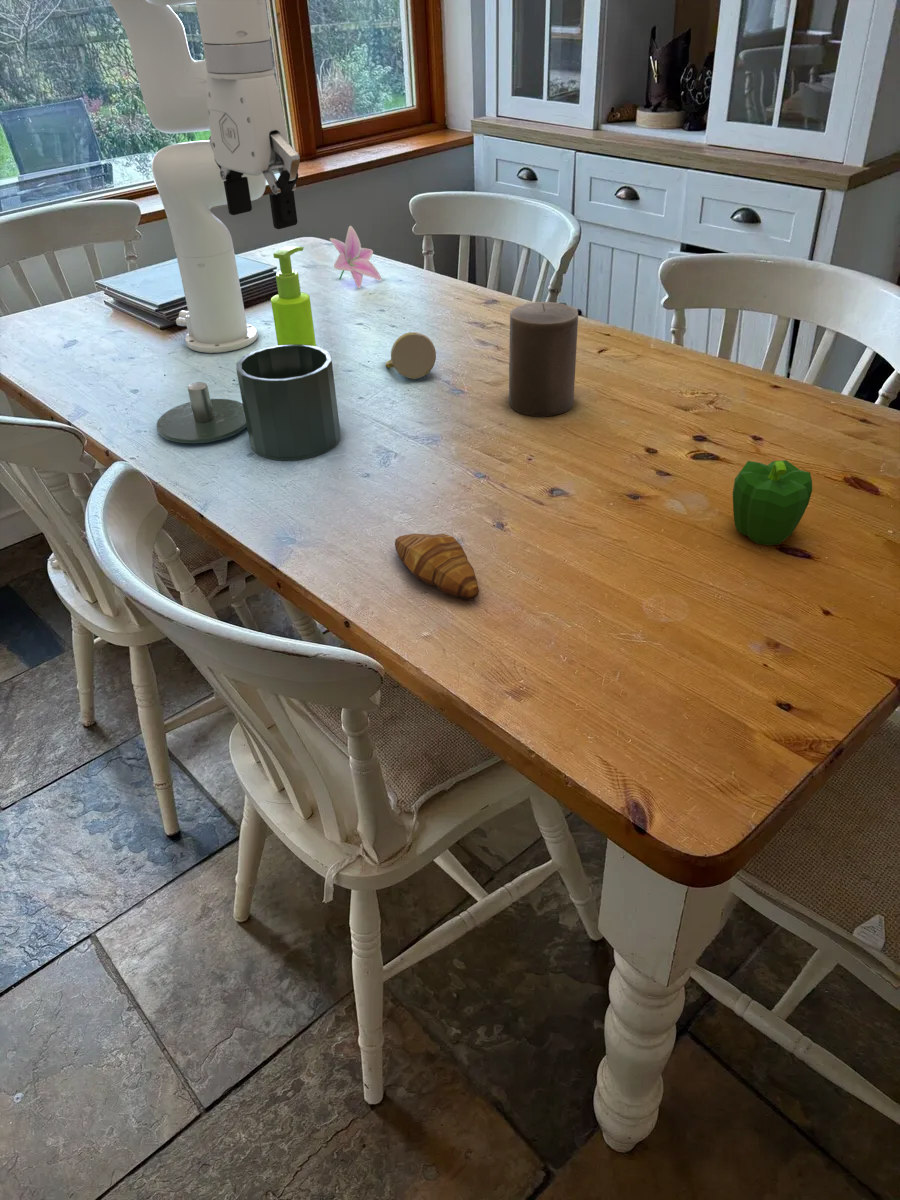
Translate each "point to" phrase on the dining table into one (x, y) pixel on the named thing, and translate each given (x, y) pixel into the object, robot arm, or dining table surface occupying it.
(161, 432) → the lid
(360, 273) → the lily
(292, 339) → the soap dispenser
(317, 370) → the canister
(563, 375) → the pillar candle
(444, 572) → the croissant
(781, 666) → the dining table surface
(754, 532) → the bell pepper
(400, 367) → the mug
